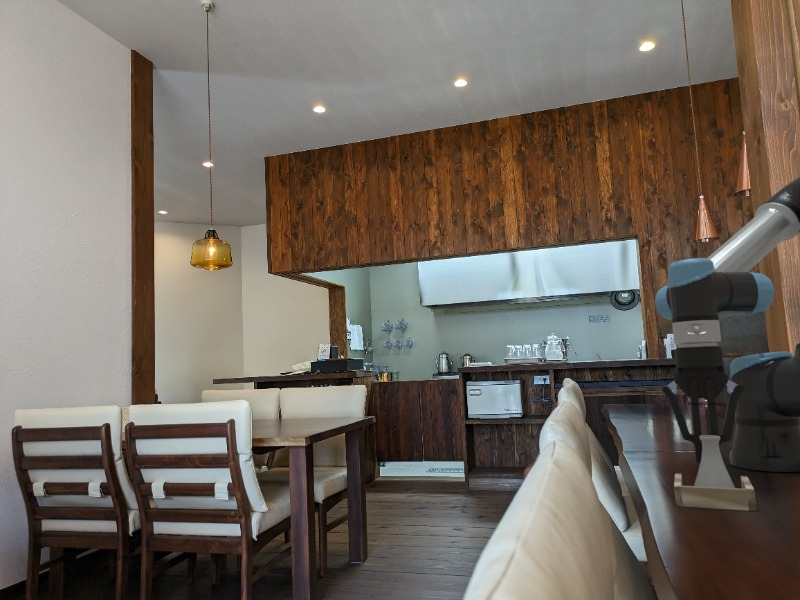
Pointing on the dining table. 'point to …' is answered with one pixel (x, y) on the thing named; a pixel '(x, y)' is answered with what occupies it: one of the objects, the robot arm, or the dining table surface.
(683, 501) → the caddy
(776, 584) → the dining table surface
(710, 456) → the flask
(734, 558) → the dining table surface
